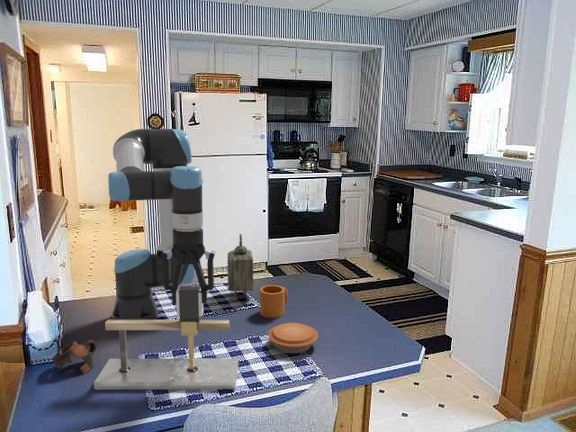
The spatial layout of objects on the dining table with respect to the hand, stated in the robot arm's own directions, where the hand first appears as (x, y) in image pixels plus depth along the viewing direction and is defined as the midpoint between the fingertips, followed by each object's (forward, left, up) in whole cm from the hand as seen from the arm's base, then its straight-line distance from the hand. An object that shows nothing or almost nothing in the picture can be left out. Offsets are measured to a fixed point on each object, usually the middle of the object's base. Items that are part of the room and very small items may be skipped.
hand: (190, 314), depth 122 cm
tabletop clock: (-58, +9, -18) cm, 61 cm away
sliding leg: (0, 0, -16) cm, 16 cm away
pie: (-18, +28, -18) cm, 38 cm away
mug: (-43, +23, -18) cm, 52 cm away
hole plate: (0, -6, -18) cm, 19 cm away
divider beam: (0, -6, -16) cm, 17 cm away
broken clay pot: (-5, -32, -18) cm, 38 cm away
